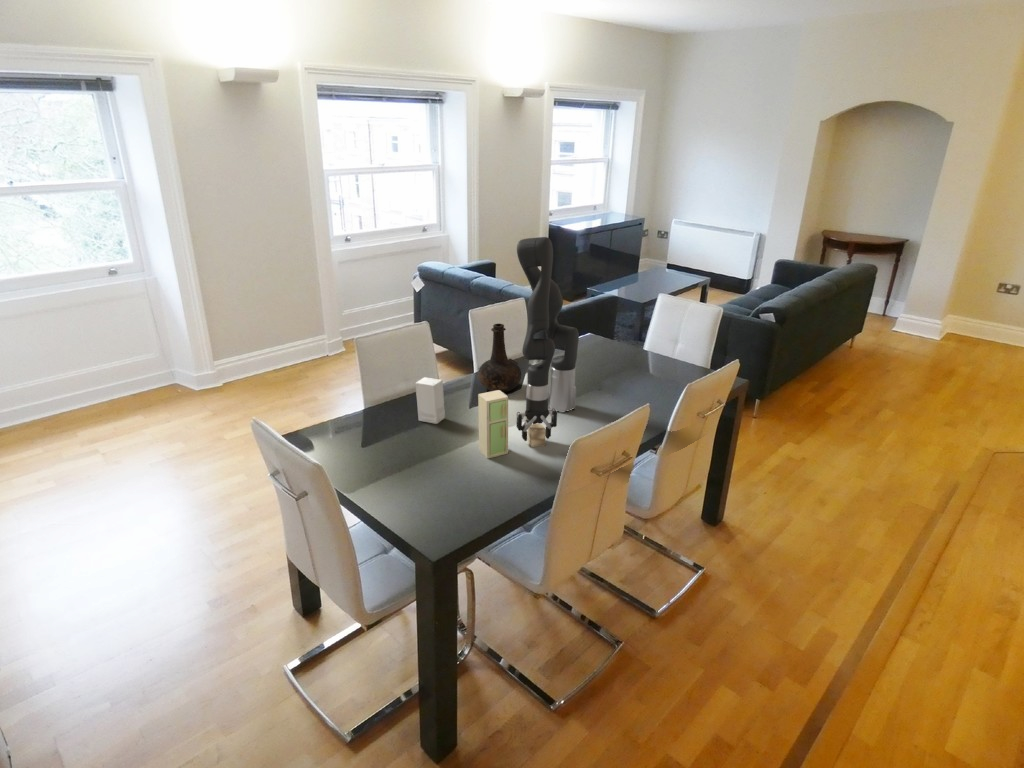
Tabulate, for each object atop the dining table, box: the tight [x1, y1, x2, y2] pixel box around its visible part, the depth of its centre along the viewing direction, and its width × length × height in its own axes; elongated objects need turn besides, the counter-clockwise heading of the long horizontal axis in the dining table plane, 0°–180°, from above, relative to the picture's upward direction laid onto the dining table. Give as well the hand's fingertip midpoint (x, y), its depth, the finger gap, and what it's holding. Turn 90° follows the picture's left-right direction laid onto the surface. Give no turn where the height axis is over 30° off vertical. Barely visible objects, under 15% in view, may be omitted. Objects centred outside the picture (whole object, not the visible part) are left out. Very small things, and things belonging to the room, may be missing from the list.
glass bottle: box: [477, 323, 522, 393], centre depth 257 cm, size 18×18×28 cm
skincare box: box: [415, 376, 446, 425], centre depth 230 cm, size 8×7×16 cm
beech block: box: [526, 423, 546, 448], centre depth 215 cm, size 5×5×6 cm
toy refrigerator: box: [477, 390, 509, 459], centre depth 205 cm, size 8×7×21 cm
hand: (536, 438), depth 216 cm, fingers open, 7 cm apart
